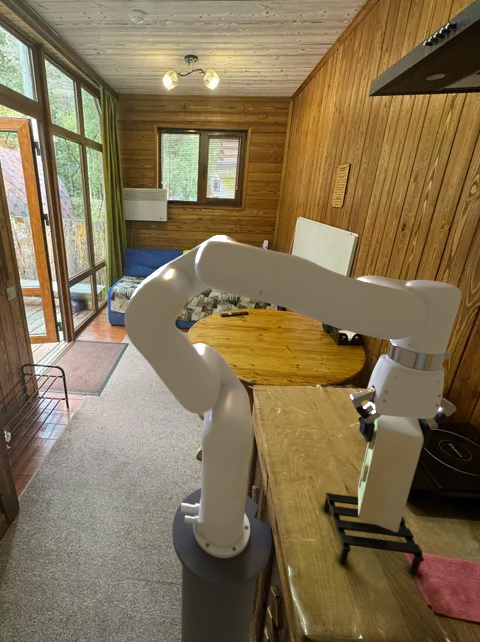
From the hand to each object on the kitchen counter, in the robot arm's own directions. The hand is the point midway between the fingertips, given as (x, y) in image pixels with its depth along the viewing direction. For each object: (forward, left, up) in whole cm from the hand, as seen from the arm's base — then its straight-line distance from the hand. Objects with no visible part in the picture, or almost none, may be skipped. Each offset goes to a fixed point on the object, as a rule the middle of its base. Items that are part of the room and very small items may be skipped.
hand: (391, 439), depth 56 cm
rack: (0, 0, -25) cm, 25 cm away
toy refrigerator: (0, 0, -17) cm, 17 cm away
